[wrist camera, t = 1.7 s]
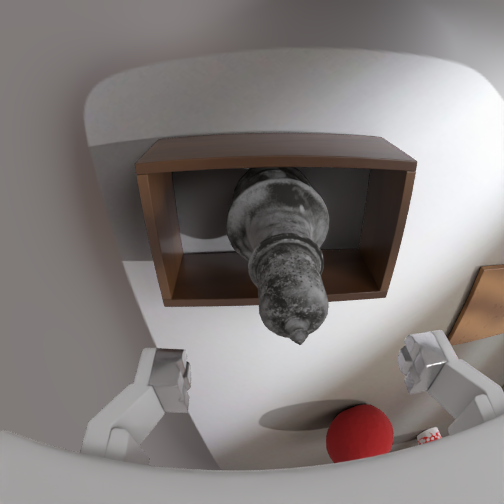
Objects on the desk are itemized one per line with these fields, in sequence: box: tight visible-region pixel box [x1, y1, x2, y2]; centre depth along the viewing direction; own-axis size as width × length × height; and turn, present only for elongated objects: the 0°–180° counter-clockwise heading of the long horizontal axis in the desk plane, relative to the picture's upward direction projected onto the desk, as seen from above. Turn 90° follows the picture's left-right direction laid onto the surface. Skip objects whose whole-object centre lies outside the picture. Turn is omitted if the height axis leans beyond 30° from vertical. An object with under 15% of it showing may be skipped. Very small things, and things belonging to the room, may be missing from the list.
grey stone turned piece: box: [226, 167, 329, 345], centre depth 16 cm, size 6×6×12 cm
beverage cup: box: [417, 427, 441, 445], centre depth 42 cm, size 6×6×14 cm
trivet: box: [447, 265, 504, 346], centre depth 28 cm, size 11×11×1 cm
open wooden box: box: [135, 133, 417, 307], centre depth 19 cm, size 9×14×5 cm, turn 91°
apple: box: [326, 404, 394, 463], centre depth 34 cm, size 9×9×10 cm
